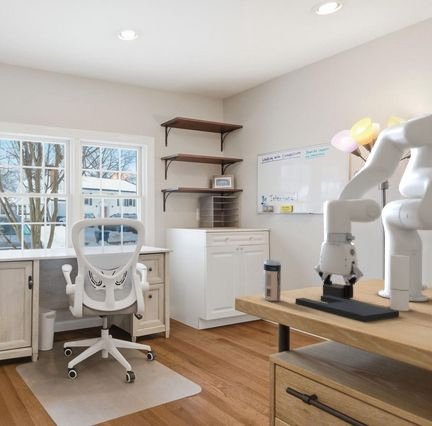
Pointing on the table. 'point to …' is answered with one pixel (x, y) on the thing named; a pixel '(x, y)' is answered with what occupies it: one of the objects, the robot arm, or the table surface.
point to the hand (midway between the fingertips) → (337, 294)
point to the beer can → (272, 280)
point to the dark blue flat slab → (349, 308)
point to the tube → (399, 282)
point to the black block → (334, 290)
